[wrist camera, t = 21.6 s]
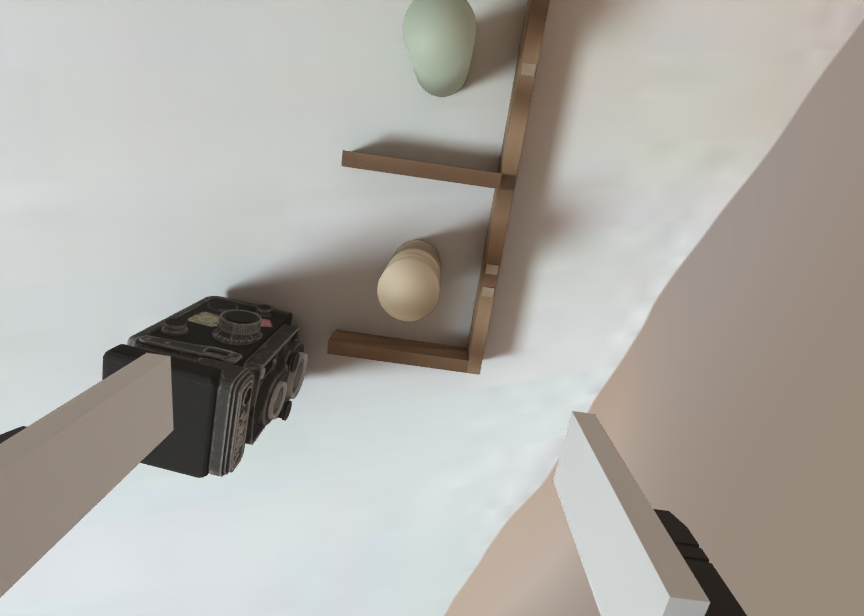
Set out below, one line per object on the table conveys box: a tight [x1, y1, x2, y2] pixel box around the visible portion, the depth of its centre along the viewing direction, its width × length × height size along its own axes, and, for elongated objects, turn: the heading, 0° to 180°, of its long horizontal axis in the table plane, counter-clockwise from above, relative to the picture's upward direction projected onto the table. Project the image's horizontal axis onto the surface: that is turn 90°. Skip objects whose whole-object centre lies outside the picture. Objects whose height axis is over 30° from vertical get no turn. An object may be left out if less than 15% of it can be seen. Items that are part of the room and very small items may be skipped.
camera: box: [102, 296, 308, 478], centre depth 37 cm, size 10×11×15 cm
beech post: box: [377, 240, 441, 321], centre depth 36 cm, size 4×4×10 cm
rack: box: [327, 0, 549, 375], centre depth 37 cm, size 34×14×3 cm, turn 172°
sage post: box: [403, 0, 477, 97], centre depth 32 cm, size 4×4×10 cm
